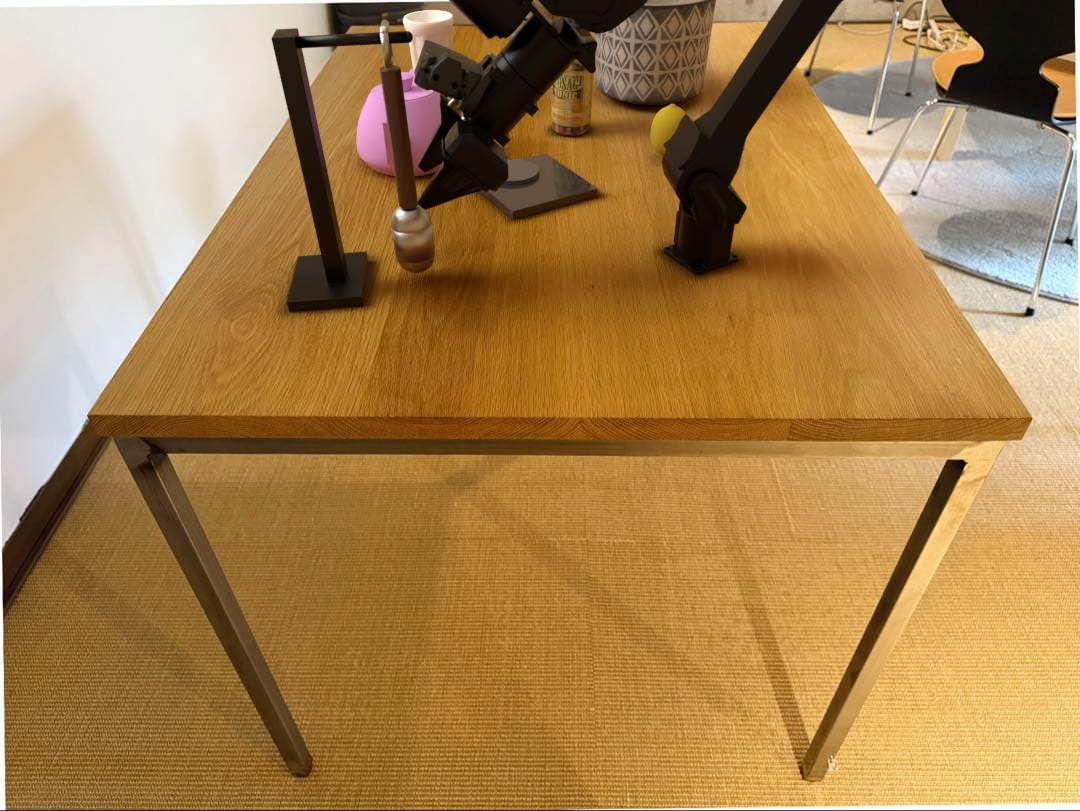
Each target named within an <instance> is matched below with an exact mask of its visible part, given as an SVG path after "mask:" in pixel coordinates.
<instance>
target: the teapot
mask: <svg viewBox="0 0 1080 811" xmlns="http://www.w3.org/2000/svg"><path fill="white" fill-rule="evenodd" d="M414 72H415V69H413V68H410V69H409V70H408V72H407V71H401V75H402V83H403V90H404V98H405V106H406V114H407V121H408V129H409V137H410V145H411V152H412V160H413V168H414V176H415V177H421V176H427V175H431V174H435V173H436V171H437V170H438V168H439V166H440V165H441V164H440V165H438V166H437V167H435V168H433V169H431V170H429V171H427V172H423V171H422V170H421V169H420V168H419V167H418V164H419V162H420V160H421V158H422V156H423V154H424V152H425V150H426V148H427V146H428V144H429V142H430V140H431V138H432V136H433V134H434V132H435V130H436V128H437V126H438V123H439V121H440V119H441V112H440V98H439V96H440V93H438V92H436V91H433V90H429V91H428V90H425V89H423V88H421V87H419V86H417V85H416V84H415V82H414V79H415V73H414ZM355 140H356V150H357V154H358V155H359V157H360V159H361V160H363V161H364V163H366V165H368V166H369V167H370V168H371V169H373V170H374V171H376V172H378V173H380V174H382V175H386V176H391V177H395V172H394V165H393V159H392V152H391V145H390V138H389V131H388V125H387V118H386V111H385V104H384V97H383V91H382V84H381V83H379V84H377V85H376V86H374V87H373V88H372V89H371V90H370V92H369V94H368V96H367V98H366V100H365V102H364V104H363V106H362V109H361V112H360V115H359V119H358V121H357V127H356V138H355Z"/></svg>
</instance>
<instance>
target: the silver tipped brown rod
mask: <svg viewBox="0 0 1080 811" xmlns="http://www.w3.org/2000/svg"><path fill="white" fill-rule="evenodd" d="M379 32H380V37H381V44H380V45H381V50H382V58H383V64H384V65H382V66H381V67H380V68H379V77H380V84H382V91H383V97H384V104H385V111H386V118H387V125H388V131H389V138H390V145H391V152H392V159H393V165H394V172H395V176H394V179H395V185H396V192H397V199H398V204H399V205H398V207H397V208H395V210H394V211H393V213H392V214H391V215H392V216H391V218H390V219H391V220H390V228H391V234H392V240H393V247H394V253H395V258H396V261H397V263H398V266H400V267H401V268H402V270H405V271H406V272H407V273H411V274H420V273H421V274H422V273H424V272H426V271H427V270H429V269H430V268H431V267H432V266H433V264H434V262H435V259H436V246H435V239H434V231H433V230H434V229H433V221H432V218H431V215H430V213H429V212H428V210H424V209H423V208H422V207H420V206H419V205H418V200H419V198H418V193H417V192H418V190H417V185H416V184H417V182H416V178H415V177H416V176H414V168H413V160H412V152H411V145H410V137H409V129H408V121H407V114H406V106H405V98H404V90H403V83H402V75H401V72H402V68H401V67H400V66H399V65H395V64H394V52H393V44H389V38H388V32H391V29H390V23H389V21H388V20H387V19H383V20H381V22H380V28H379Z"/></svg>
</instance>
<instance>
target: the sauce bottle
mask: <svg viewBox="0 0 1080 811" xmlns="http://www.w3.org/2000/svg"><path fill="white" fill-rule="evenodd" d="M564 18H565V20H566V21H567V22H568V23H569V24H570V25H571V26H572V27H573V28H574V29H575V30H576V31H577V32H578V33H579V35H580V36H582V37H589V36H593V35H592V34H591V32H590V31H587V30H584V29H582V28H581V27H580V26H579V25H578V24H576V22H575V21H574V19H572V18H566V17H564ZM594 75H595V72H594V73H592V74H591V73H589V72H588V71H587V70H586V69H585V68H584V67H583V66H582V65H581V64H580V63H579V61H578V60H577V59H576V60H575V61H574V62H573V63H572V64H571V65H570V66H569V68H568V69H567V70H566V71H565V72H564V73H563V74H562V75H561V76H560V77H559V78H558V80H557V81H556V82H555V83H554V84H553V85H552V86H551V88H552V89H551V114H550V115H551V116H550V118H551V121H552V122H551V127H552V131H553V132H555V133H556V134H558V135H560V136H561V135H562V136H570V137H579V136H582V135H583V134H586V133H587V132H588V131H589V130H590V123H591V122H592V108H593V91H594V77H595V76H594Z"/></svg>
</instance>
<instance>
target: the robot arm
mask: <svg viewBox="0 0 1080 811" xmlns="http://www.w3.org/2000/svg"><path fill="white" fill-rule="evenodd" d="M448 1H449V2H450V3H451V5H453V6H454V8H456V9H457V10H458V11H459V12H460V13H461V14H462V15H463V16H464V17H465V18H466V19H467V21H469V22H470V23H471V24H472V25H473V26H474V27H475V28H476V29H477V30H478V31H480V33H481V34H482V35H483V36H485V38H486V39H488V40H491V39H493V38H494V37H497V38H498V39H499V40H502V39H507V38H510V36H511V34H512V33H514V32H515V30H516V29H517V28H518V27H519V26H520V25H521V23H522V22H523V21H524V19H525V18H528V20H527V21H526V22H525V23H524V24H523V25H522V27H521V28H520V29H519V30H518V31H517V32H516V34H515V35H514V36H513V37H512V38H511V39H510V41H509V40H508V42H507V43H506V44H505V45H504V46H503V47H502V48H501V50H500V51H499V52H498V53H497V55H495V54H494V53H493V52H491V53H490V54H489V53H486V54H485V55H484V57H483V58H482V59H481V60H480V61H479V62H478V61H476V60H473V59H472V58H469V57H468V56H466V55H464V54H462V53H460V52H457V51H455V50H454V49H453V50H451V49H449V48H446V47H444V46H442V45H439V44H437V43H435V42H432V41H429V40H425V41H424V44H423V47H422V50H421V53H420V56H419V59H418V62H417V66H416V69H415V72H414V73H415V79H414V82H415V84H416V85H417V86H419V87H421V88H423V89H425V90H428V91H429V90H433V91H436V92H438V93H440V96H439V98H440V112H441V119H440V121H439V123H438V126H437V128H436V130H435V132H434V134H433V136H432V138H431V140H430V142H429V144H428V146H427V148H426V150H425V152H424V154H423V156H422V158H421V160H420V162H419V164H418V167H419V168H420V169H421V170H422V171H423V172H427V171H429V170H431V169H433V168H435V167H437V166H438V165H440V164H441V165H440V166H439V168H438V170H437V171H436V172H435V173H433V176H432V177H431V179H430V180H429V182H428V184H427V185H426V187H425V188H424V190H423V191H422V194H421V195H420V197H419V198H418V205H419V206H420V207H422V208H423V209H424V210H426V211H428V210H430V209H432V208H435V207H438V206H441V205H443V204H445V203H449V202H451V201H454V200H457V199H459V198H462V197H466V196H469V195H473V194H476V193H478V192H479V191H482V190H484V191H485V192H487V191H489V190H491V191H494V192H496V191H497V190H498V189H499V188H500V187H501V186H502V184H503V183H504V182H505V181H506V180H507V179H508V178H509V176H508V162H507V160H508V158H507V154H506V150H505V149H504V148H505V147H506V146H507V145H508V144H509V143H510V142H511V136H510V132H511V131H512V130H513V129H514V128H515V126H517V125H518V123H519V122H520V121H521V120H522V119H523V118H524V117H525V116H526V115H527V114H528V115H529V116H530V117H534V115H535V114H536V113H537V112H538V111H539V110H540V107H539V104H538V102H539V101H540V99H542V97H544V95H546V93H547V92H548V91H549V90H550V88H552V85H553V84H554V83H555V82H556V81H557V80H558V78H559V77H560V76H561V75H562V74H563V73H564V72H565V71H566V70H567V69H568V68H569V66H570V65H571V64H572V63H573V62H574V61H575V60H576V59H577V60H578V61H579V63H580V64H581V65H582V66H583V67H584V68H585V69H586V70H587V71H588V72H589V73H591V74H592V73H594V74H595V73H596V49H597V45H598V44H597V42H596V37H594V36H593V35H592V36H589V37H582V36H580V35H579V33H578V32H577V31H576V30H575V29H574V28H573V27H572V26H571V25H570V24H569V23H568V22H567V21H566V20H565V18H564V17H566V18H572V19H574V21H575V22H576V24H578V25H579V26H580V27H581V28H582V29H584V30H587V31H590V33H593V34H595V35H596V34H600V33H605V32H608V31H611V30H613V29H614V28H616V27H617V26H618V25H620V24H621V23H622V22H624V21H625V20H626V19H627V18H629V17H630V16H631V15H632V14H634V13H635V12H636V11H638V10H639V9H640V8H641V7H643V6H644V5H645V3H646V2H647V1H648V0H537V1H538V2H539V3H540V5H542V7H543V8H545V10H546V11H547V12H548V13H549V14H550V15H551V16H556V17H555V18H553V19H551V18H550V17H549V16H548V15H547V14H546V13H545V12H544V11H543V10H542V9H541V8H540V7H539V6H538V5H537V4H536V3H535V2H534V1H535V0H448ZM844 1H845V0H782V1H781V3H780V4H779V5H778V7H777V9H776V10H775V11H774V13H773V15H772V17H771V18H770V19H769V21H768V22H767V24H766V25H765V26H764V28H763V30H762V31H761V33H760V34H759V35H758V37H757V39H756V40H755V41H754V44H753V45H752V46H751V48H750V49H749V51H748V52H747V54H746V56H745V57H744V58H743V60H742V62H741V63H740V64H739V66H738V68H737V69H736V71H735V72H734V73H733V75H732V76H731V78H730V80H729V81H728V83H727V85H726V86H725V87H724V89H723V91H722V92H721V94H720V95H719V97H718V98H717V100H716V101H715V102H714V104H713V105H712V107H710V108H709V110H708V111H706V112H705V113H704V114H702V115H700V116H699V117H697V118H696V119H695V120H694V119H693V117H691V116H690V114H688V113H686V114H685V115H684V116H683V118H682V119H681V121H680V123H679V125H678V127H677V129H676V131H675V133H674V134H673V136H672V137H671V138H670V139H669V140H668V141H667V142H665V143H664V144H663V145H664V147H665V149H666V152H665V154H664V156H662V160H661V164H662V171H663V175H664V176H665V178H666V180H667V181H668V184H669V185H670V187H671V189H672V190H673V192H674V193H675V195H676V197H677V199H678V202H679V203H678V210H677V211H676V218H675V225H674V234H673V243H674V244H671V245H667V246H665V247H663V253H664V254H665V255H667V256H668V257H670V259H672V260H674V261H675V262H677V263H678V264H679V265H680V266H682V267H684V268H685V269H686V270H688V271H690V272H691V273H693V274H694V275H702V274H705V273H708V272H711V271H714V270H716V269H719V268H723V267H725V266H728V265H731V264H734V263H738V262H739V261H740V255H738V254H737V253H735V252H734V251H732V244H733V238H734V232H735V226H736V225H738V224H740V222H741V220H742V219H743V217H744V215H745V214H746V211H747V209H748V207H747V204H746V203H745V202H744V201H743V199H742V198H741V196H740V195H739V194H738V192H737V190H736V189H735V188H734V187H733V185H732V182H733V180H734V178H735V177H736V174H737V173H738V171H739V168H740V165H741V162H742V157H743V154H744V150H745V146H746V143H747V139H748V136H749V134H750V133H751V131H752V130H753V128H754V127H755V126H756V124H757V123H758V121H759V120H760V119H761V117H762V115H763V114H764V112H765V111H766V110H767V108H768V107H769V106H770V104H771V103H772V101H773V100H774V99H775V97H776V96H777V94H778V93H779V91H780V90H781V88H782V87H784V84H785V83H786V81H787V80H788V78H789V77H790V76H791V74H792V73H793V71H794V70H795V68H797V65H798V64H799V63H800V61H801V60H802V58H803V57H804V56H805V54H806V53H807V51H808V50H809V49H810V47H811V45H812V44H813V43H814V41H815V40H816V39H817V37H818V36H819V34H820V33H821V31H822V30H823V28H824V27H825V26H826V25H827V23H828V22H829V20H830V19H831V17H832V16H833V15H834V14H835V12H836V10H837V9H838V7H839V6H840V5H841V4H842V3H843V2H844ZM530 13H531V15H530ZM528 15H530V16H529V17H528ZM447 97H448V98H447ZM479 193H480V192H479Z"/></svg>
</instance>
